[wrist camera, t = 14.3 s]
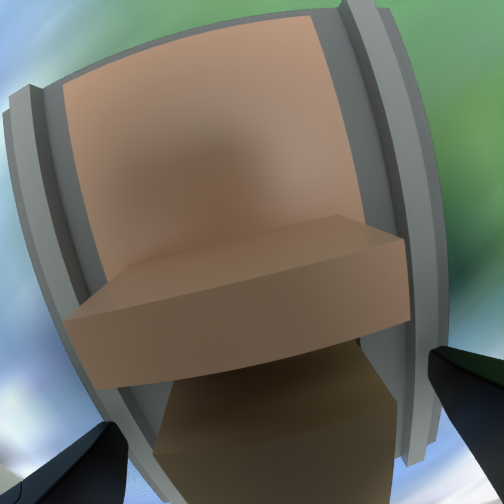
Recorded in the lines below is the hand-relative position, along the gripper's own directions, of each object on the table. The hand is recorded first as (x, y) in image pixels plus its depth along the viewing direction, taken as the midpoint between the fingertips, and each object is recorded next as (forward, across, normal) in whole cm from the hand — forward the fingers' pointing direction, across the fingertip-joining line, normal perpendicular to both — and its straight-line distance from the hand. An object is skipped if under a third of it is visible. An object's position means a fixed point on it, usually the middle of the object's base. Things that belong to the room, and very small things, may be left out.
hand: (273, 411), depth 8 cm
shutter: (+1, 0, -6) cm, 6 cm away
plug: (+4, 0, 0) cm, 4 cm away
